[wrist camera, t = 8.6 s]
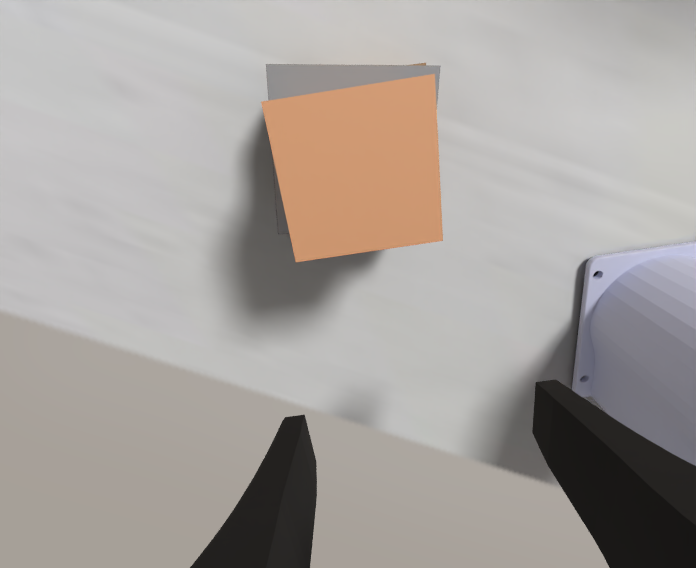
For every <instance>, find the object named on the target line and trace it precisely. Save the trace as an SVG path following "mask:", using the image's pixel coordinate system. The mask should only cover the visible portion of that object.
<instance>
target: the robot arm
mask: <svg viewBox="0 0 696 568" xmlns="http://www.w3.org/2000/svg"><path fill="white" fill-rule="evenodd" d="M596 271H599V272H598V274H597V275H596V276H594V277H593V275H594V273H595V272H596ZM583 376H584V377H583ZM581 377H583V378H581ZM590 396H592V397H593V398H594V400H595V401H596V402H597V403H598V404H599V405H600V406H601V407H602V409H603V410H604V411H605V412H606V413H607V414H606V413H605V412H603V411H602V410H600V409H599V408H597V407H596V406H594V405H593V404H591V403H590V402H588V401H587V400H585V399H584V398H583V397H590ZM533 434H534V437H535V439H536V441H537V443H538V445H539V448H540V450H541V452H542V454H543V456H544V458H545V460H546V462H547V464H548V466H549V468H550V469H551V471H552V473H553V474H554V476H555V477H556V479H557V481H558V482H559V484H560V486H561V487H562V489H563V490H564V492H565V494H566V495H567V497H568V498H569V500H570V502H571V503H572V505H573V506H574V508H575V510H576V511H577V513H578V514H579V516H580V517H581V519H582V521H583V522H584V524H585V525H586V527H587V529H588V530H589V532H590V533H591V535H592V536H593V538H594V540H595V542H596V543H597V545H598V547H599V549H600V550H601V552H602V554H603V556H604V557H605V559H606V562H607V563H608V565H609V567H610V568H696V241H693V242H686V243H679V244H673V245H666V246H659V247H652V248H645V249H639V250H632V251H625V252H618V253H611V254H604V255H598V256H594V257H592V258H590V259H589V260H588V262H587V264H586V269H585V278H584V287H583V296H582V304H581V313H580V322H579V331H578V340H577V348H576V357H575V366H574V375H573V383H572V390H571V389H569V388H568V387H566V386H565V385H563V384H562V383H560V382H559V381H557V380H549V381H542V382H536V387H535V402H534V417H533ZM316 496H317V477H316V459H315V455H314V451H313V447H312V443H311V439H310V435H309V431H308V427H307V423H306V419H305V415H300V416H292V417H285V418H284V420H283V421H282V424H281V425H280V428H279V430H278V432H277V434H276V436H275V438H274V440H273V442H272V444H271V446H270V448H269V450H268V452H267V454H266V456H265V458H264V460H263V461H262V463H261V465H260V467H259V469H258V471H257V473H256V474H255V476H254V478H253V479H252V481H251V483H250V484H249V486H248V488H247V489H246V491H245V492H244V494H243V496H242V497H241V499H240V501H239V502H238V504H237V505H236V507H235V508H234V510H233V512H232V513H231V514H230V516H229V517H228V519H227V520H226V522H225V523H224V524H223V526H222V527H221V529H220V530H219V531H218V533H217V534H216V535H215V537H214V538H213V540H212V541H211V542H210V543H209V545H208V546H207V547H206V548H205V550H204V551H203V552H202V554H201V555H200V556H199V557H198V559H197V560H196V561H195V562H194V564H193V565H192V566H191V567H190V568H310V561H311V550H312V540H313V529H314V519H315V508H316Z"/></svg>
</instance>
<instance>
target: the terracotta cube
mask: <svg viewBox="0 0 696 568" xmlns="http://www.w3.org/2000/svg"><path fill="white" fill-rule="evenodd" d="M261 103H262V108H263V112H264V117H265V122H266V126H267V131H268V136H269V140H270V145H271V149H272V154H273V159H274V163H275V168H276V173H277V177H278V182H279V187H280V191H281V196H282V201H283V205H284V210H285V215H286V219H287V224H288V228H289V233H290V238H291V242H292V247H293V252H294V256H295V261H296V262H302V261H308V260H315V259H322V258H329V257H336V256H342V255H349V254H356V253H363V252H369V251H376V250H383V249H390V248H397V247H403V246H410V245H417V244H424V243H430V242H437V241H443V234H442V213H441V193H440V172H439V151H438V130H437V109H436V88H435V74H430V75H424V76H418V77H412V78H405V79H399V80H393V81H387V82H381V83H374V84H368V85H362V86H356V87H350V88H343V89H337V90H331V91H325V92H319V93H312V94H306V95H300V96H294V97H288V98H281V99H275V100H269V101H263V102H261Z"/></svg>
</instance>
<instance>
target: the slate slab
mask: <svg viewBox="0 0 696 568" xmlns="http://www.w3.org/2000/svg"><path fill="white" fill-rule="evenodd" d="M266 72H267V86H268V100H275V99H281V98H288V97H294V96H300V95H306V94H312V93H319V92H325V91H331V90H337V89H343V88H350V87H356V86H362V85H368V84H374V83H381V82H387V81H393V80H399V79H405V78H412V77H418V76H424V75H430V74H435V88H436V109H437V100H438V89H439V77H440V66H418V65H297V64H266ZM272 156H273V154H272ZM273 170H274V184H275V198H276V212H277V226H278V234H290V233H289V228H288V224H287V219H286V215H285V210H284V205H283V201H282V196H281V191H280V187H279V182H278V177H277V173H276V168H275V163H274V159H273Z"/></svg>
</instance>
